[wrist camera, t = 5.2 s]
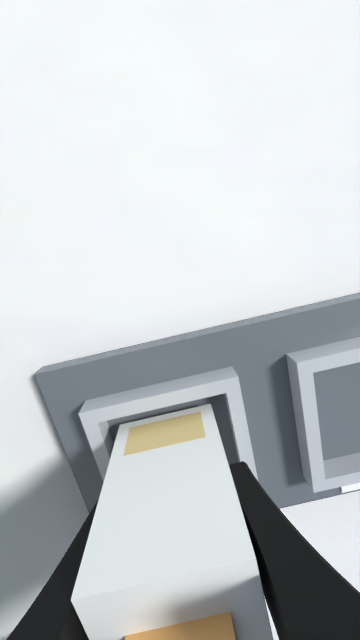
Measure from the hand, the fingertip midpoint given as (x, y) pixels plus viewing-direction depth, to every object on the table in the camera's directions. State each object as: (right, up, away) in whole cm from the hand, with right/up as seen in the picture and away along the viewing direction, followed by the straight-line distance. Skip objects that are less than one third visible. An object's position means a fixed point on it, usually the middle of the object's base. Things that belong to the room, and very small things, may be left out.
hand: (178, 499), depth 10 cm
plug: (0, +1, +2) cm, 2 cm away
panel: (+4, +2, +3) cm, 6 cm away
